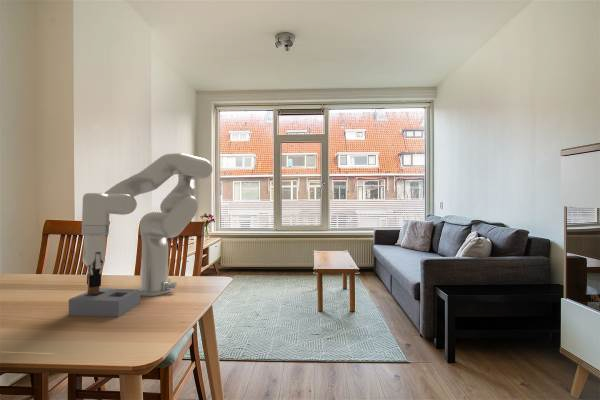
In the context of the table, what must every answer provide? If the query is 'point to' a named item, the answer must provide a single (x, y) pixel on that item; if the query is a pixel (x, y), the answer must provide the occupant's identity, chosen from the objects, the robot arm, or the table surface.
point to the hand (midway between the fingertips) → (93, 284)
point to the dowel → (94, 289)
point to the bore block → (104, 302)
